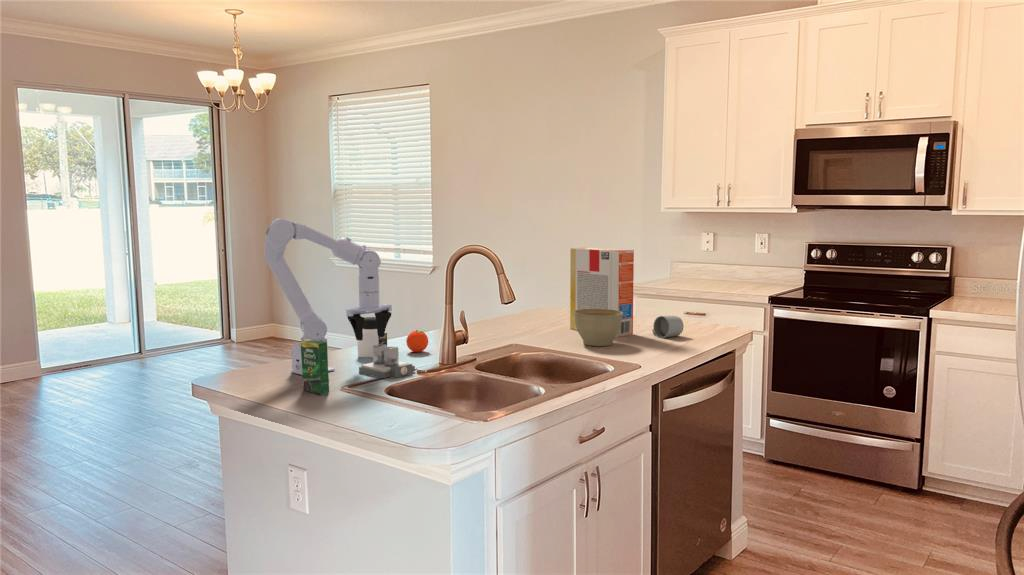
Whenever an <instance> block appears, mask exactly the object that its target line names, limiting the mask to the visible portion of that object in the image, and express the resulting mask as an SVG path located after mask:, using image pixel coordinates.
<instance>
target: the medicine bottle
mask: <svg viewBox="0 0 1024 575" xmlns="http://www.w3.org/2000/svg"><path fill="white" fill-rule="evenodd" d="M364 318H365V319H364V323H363V339H362V340H361V341H360V340H357V358H363V359H365V358H368V359H369V358H371V359H373V345H378V344H385V345H387V346H388V331H386V330H385V334H384V337H380V336H378V334H377V322H376V317H375V316H367V317H364Z"/></svg>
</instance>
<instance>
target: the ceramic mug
mask: <svg viewBox="0 0 1024 575" xmlns="http://www.w3.org/2000/svg"><path fill="white" fill-rule="evenodd" d="M684 327H685V326H684V321H683V319H682V318H681V317H679V316H677V315H659V316H658V317H656V318H655V320H654V321H653V328H652V329H651V332H652V334H653V335H656V336H657V337H658V338H659V339H666V338H673V337H677V336H680V335H682V332H683V331H684Z"/></svg>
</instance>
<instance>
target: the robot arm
mask: <svg viewBox="0 0 1024 575" xmlns="http://www.w3.org/2000/svg"><path fill="white" fill-rule="evenodd" d="M264 237H265V238H264V245H263V246H264V247H263V256H264V257H263V258H264V260H265V263H266V264H267V265H268V267H269V268H270V270H271V272H272V273H273V276H274V277H275V280H276V281H277V282H278V284H279V287H280V288H281V290H282V291H283V293H284V295H285V296H286V299H287V300H288V302H289V303H290V305H291V307H292V308H293V310H294V312H295V314H296V317H297V318H298V320H299V321H300V330H301V331H302V332H301V333H303V335H302V337H300V341H302V340H307V339H310V340H316V341H324V342H327V343H328V337H327V336H326V335H327V332H328V328H327V324H326V323H325V321H323V319H322V318H321V317H320V316H319V315H317V314H316V312H315V311H314V308H313V307H312V305H311V304H310V302H309V300H308V299H307V297H306V295H305V293H304V291H303V290H302V288H301V286H300V285H299V282H298V281H297V279H296V278H295V275H294V273H293V272H292V270H291V269H290V267H289V265H288V263H287V261H286V260H285V258H284V254H285V252H286V249H287V246H288V244H289V243H290V242H291V240H292V239H294V240H297V241H298V240H304V239H305V240H307V241H310V242H312V243H315V244H318V245H319V246H322V247H325V248H327V249H329V250H331V252H332V254H333V256H334V257H336V258H338V259H340V260H343V261H345V262H347V263H349V264H351V265H357V266H358V302H359V303H358V304H359V305H358V306H356V307H351V308H346V316H347V320H348V321H349V324H350V325H351V327H352V329H353V333H354V336H355V340H360V341H361V340H362V339H363V323H364V319H365V318H366V317H365V316H364V317H363V316H362V315H367V314H368V315H369V314H374V317H376V322H377V334H378V336H380V337H384V334H385V331H386V328H387V326H388V323H389V321H390V319H391V317H392V310H393V308H392V307H393V306H392V304H390V303H385V304H380V277H379V276H380V275H379V267H380V266H381V262H382V261H381V258H380V255H379V254H378V253H377V252H376V251H374V250H370V248H367V246H366V245H364V244H362V245H360V244H358V243H355V242H354V241H352V238H349V237H346V238H345V237H339V238H336V239H335V238H333V237H330V236H328V235H326V234H325V233H322V232H320V231H319V230H316V229H314V228H312V227H310V226H308V225H306V224H301V223H298V222H294V221H290V220H288V219H286V218H285V219H284V218H276V219H275V218H274V219H273V220H272V221H271V222H270V223H269V225H268V226H267V229H266V231H265V236H264ZM300 341H299V342H297V343H294V344H293V345H292V347H291V370H290V373H294V374H297V375H301V376H303V375H302V358H301V343H300ZM328 353H329V352H328V347H327V355H328ZM333 371H336V370H335V367H334V368H333V367H330V366H328V372H333Z"/></svg>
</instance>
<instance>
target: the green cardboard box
mask: <svg viewBox="0 0 1024 575" xmlns="http://www.w3.org/2000/svg"><path fill="white" fill-rule="evenodd" d="M299 342H300V343H301V358H302V375H301V376H302V388H303V391H304V392H308V393H312V394H316V395H320V396H323V395H327V394H329V393H330V380H329V379H330V378H329V371H328V367H329V356H328V355H327V348H328V341H327V342H324V341H316V340H310V339H307V340H302V341H301V340H300V341H299Z"/></svg>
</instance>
